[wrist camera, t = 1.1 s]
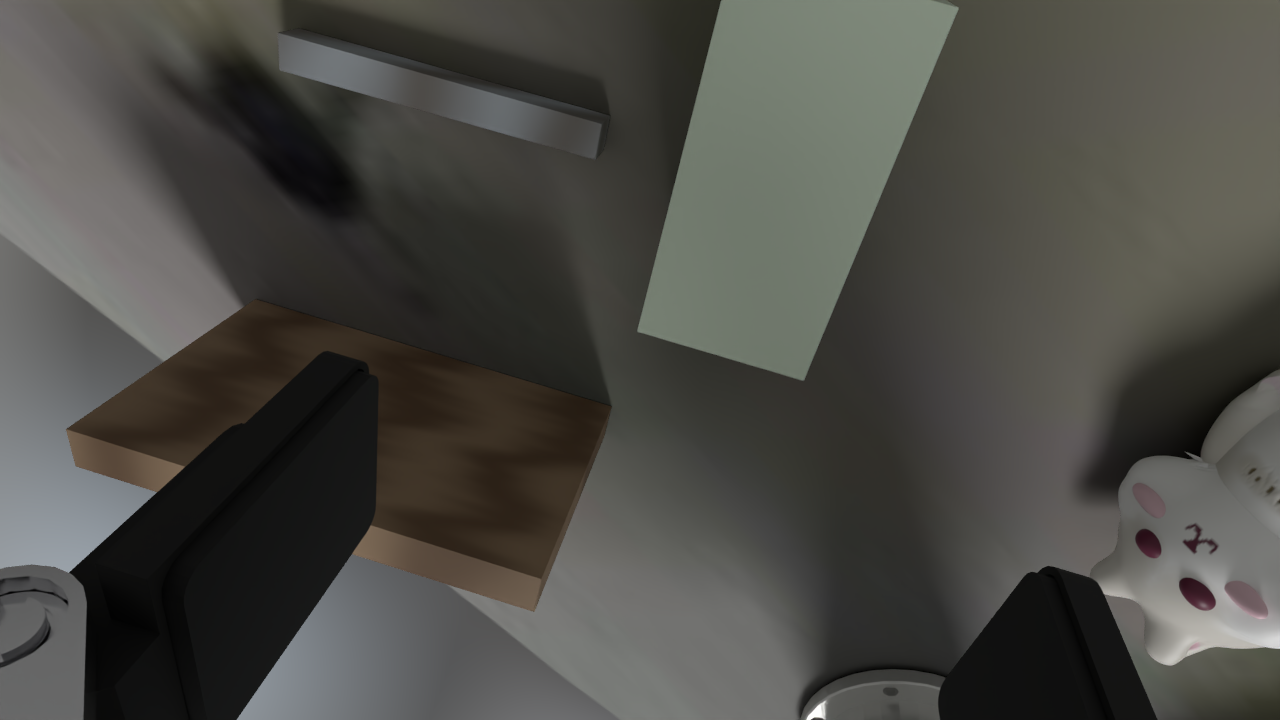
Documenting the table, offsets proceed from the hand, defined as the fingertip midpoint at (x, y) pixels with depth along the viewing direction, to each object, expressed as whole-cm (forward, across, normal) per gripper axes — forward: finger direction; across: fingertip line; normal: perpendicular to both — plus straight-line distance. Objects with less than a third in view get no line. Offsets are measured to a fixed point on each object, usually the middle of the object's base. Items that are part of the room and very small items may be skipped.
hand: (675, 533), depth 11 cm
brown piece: (+23, +13, +10) cm, 28 cm away
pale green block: (+24, -1, 0) cm, 24 cm away
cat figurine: (+23, -25, +9) cm, 35 cm away
